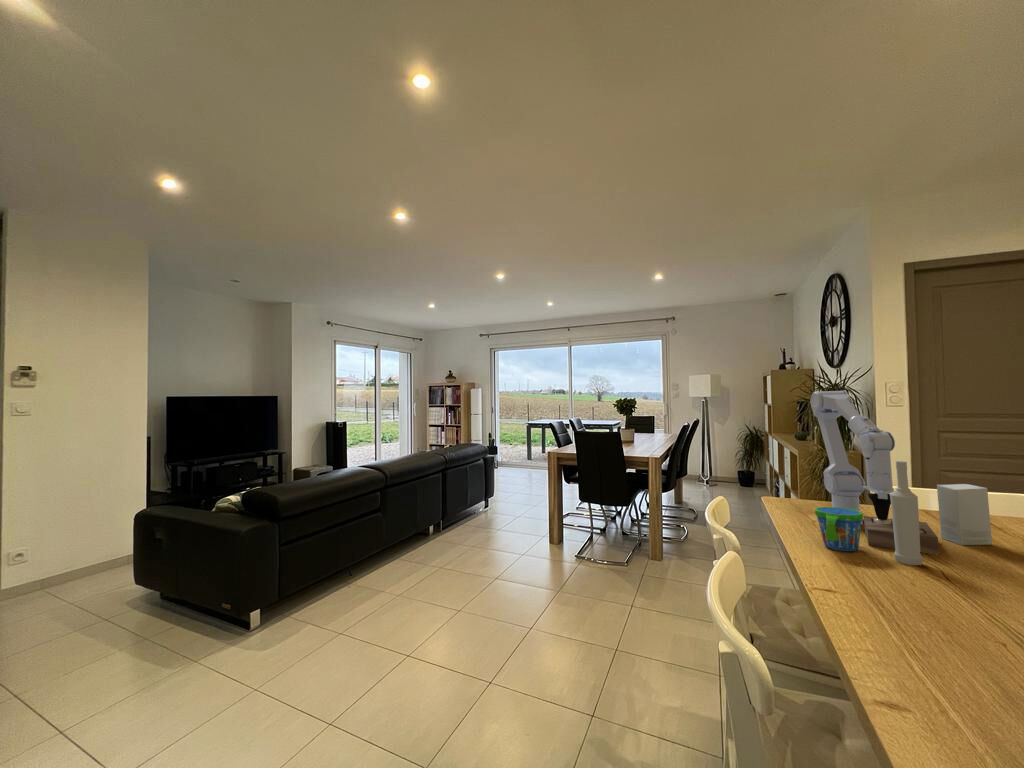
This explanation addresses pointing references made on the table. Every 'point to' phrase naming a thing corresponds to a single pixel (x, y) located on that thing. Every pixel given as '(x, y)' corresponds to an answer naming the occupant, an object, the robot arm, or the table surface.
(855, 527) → the snack cup
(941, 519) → the skincare box
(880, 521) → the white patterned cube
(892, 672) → the table surface
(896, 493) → the bottle
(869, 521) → the walnut block
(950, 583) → the table surface
